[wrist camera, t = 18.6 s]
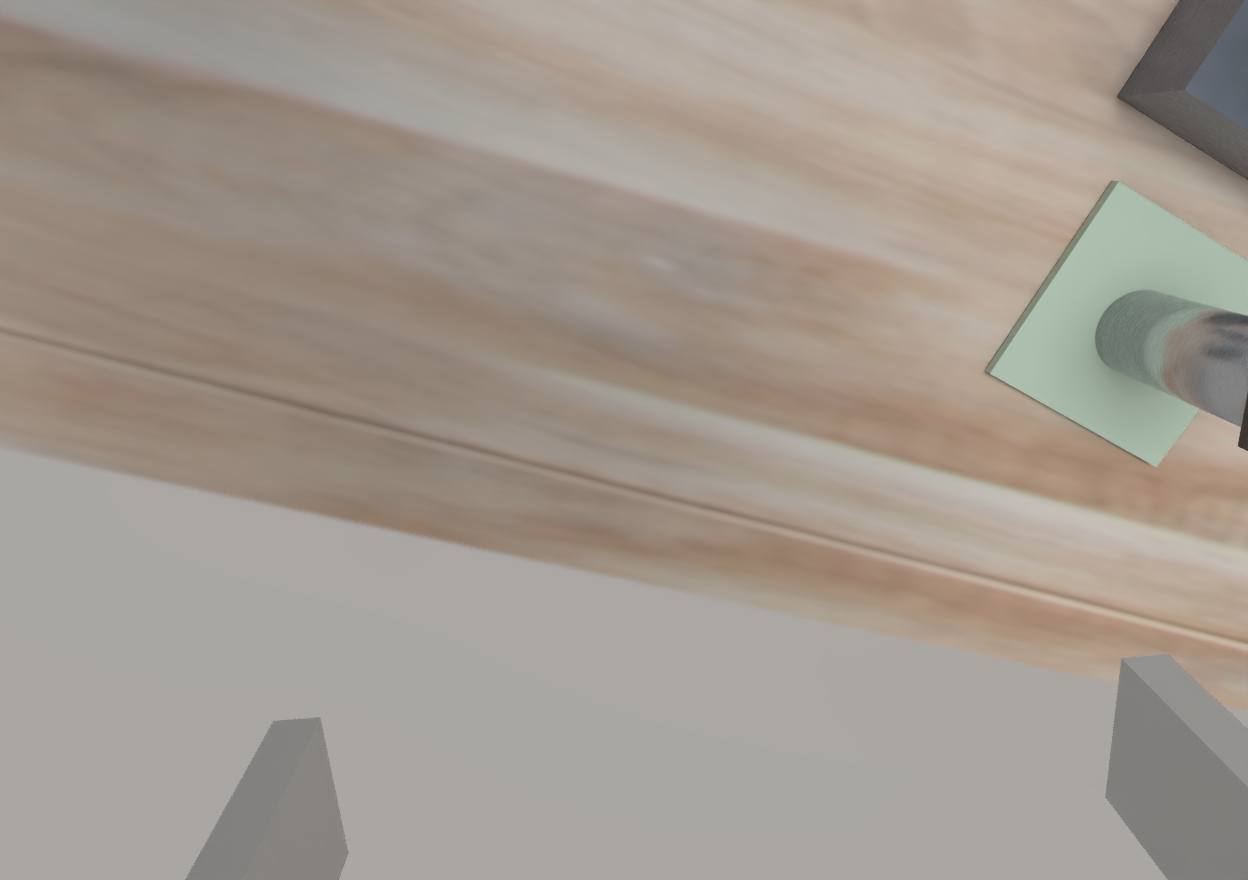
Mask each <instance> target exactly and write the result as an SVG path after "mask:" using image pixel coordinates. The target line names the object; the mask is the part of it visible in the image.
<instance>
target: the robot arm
mask: <svg viewBox="0 0 1248 880" xmlns="http://www.w3.org/2000/svg"><path fill="white" fill-rule="evenodd" d="M1106 798H1107V800H1108V801H1109V802H1110V804H1111V805H1112V806H1113V808H1114V809H1115V810H1116V811H1117V813H1118V814H1119V815H1120V817H1121V818H1122V820H1123V821H1124V822H1125V824H1126V825H1127V826H1128V828H1129V829H1130V830H1131V831H1132V833H1133V834H1134V835H1135V837H1136V838H1137V839H1138V841H1139V842H1140V844H1141V845H1142V846H1143V848H1144V849H1145V850H1146V851H1147V853H1148V854H1149V855H1150V856H1151V858H1152V859H1153V861H1154V862H1155V863H1156V865H1157V866H1158V867H1159V869H1160V870H1161V871H1162V873H1163V874H1164V875H1165V877H1166V878H1167V879H1168V880H1248V728H1247V727H1246V726H1244V725H1243V724H1242V723H1241V722H1240V721H1239V720H1238V719H1237V718H1236V717H1235V716H1234V715H1233V714H1232V713H1230V712H1229V711H1228V710H1227V709H1226V708H1225V707H1224V706H1223V705H1222V704H1221V703H1220V702H1219V701H1218V700H1217V699H1215V698H1214V697H1213V696H1212V695H1211V694H1210V693H1209V692H1208V691H1207V690H1206V689H1205V688H1204V687H1203V686H1201V685H1200V684H1199V683H1198V682H1197V681H1196V680H1195V679H1194V678H1193V677H1192V676H1191V675H1190V674H1189V673H1187V672H1186V671H1185V670H1184V669H1183V668H1182V667H1181V666H1180V665H1179V664H1178V663H1177V662H1176V661H1175V660H1174V659H1172V658H1171V657H1170V656H1169V655H1157V656H1144V657H1130V658H1121V667H1120V675H1119V684H1118V693H1117V701H1116V711H1115V719H1114V727H1113V737H1112V745H1111V753H1110V762H1109V771H1108V779H1107V788H1106ZM347 855H348V849H347V844H346V840H345V835H344V830H343V825H342V821H341V815H340V811H339V806H338V801H337V796H336V791H335V786H334V782H333V777H332V772H331V767H330V763H329V758H328V753H327V748H326V743H325V738H324V733H323V729H322V724H321V719H320V718H308V719H294V720H282V721H273V723H272V725H271V727H270V728H269V730H268V732H267V734H266V736H265V738H264V739H263V741H262V743H261V745H260V747H259V748H258V750H257V752H256V754H255V755H254V757H253V759H252V761H251V763H250V764H249V766H248V768H247V770H246V772H245V773H244V775H243V777H242V779H241V781H240V782H239V784H238V786H237V788H236V790H235V791H234V793H233V795H232V797H231V799H230V800H229V802H228V804H227V806H226V808H225V810H224V811H223V813H222V815H221V817H220V818H219V820H218V822H217V824H216V826H215V827H214V829H213V831H212V833H211V835H210V837H209V838H208V840H207V842H206V843H205V846H204V847H203V849H202V851H201V853H200V854H199V856H198V858H197V860H196V862H195V863H194V865H193V867H192V869H191V871H190V872H189V874H188V876H187V878H186V879H185V880H339V878H340V875H341V872H342V869H343V866H344V864H345V861H346V858H347Z"/></svg>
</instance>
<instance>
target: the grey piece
mask: <svg viewBox="0 0 1248 880" xmlns="http://www.w3.org/2000/svg"><path fill="white" fill-rule="evenodd" d="M1095 345H1096V349H1097V352H1098V355H1099V356H1100V358H1101V360H1102V361H1103V362H1104V363H1105V364H1106V365H1107V366H1108V367H1109V368H1111V369H1113V370H1115V371H1117V372H1119V373H1121V374H1123V375H1126V376H1128V377H1130V378H1132V379H1135V380H1137V381H1139V382H1141V383H1144V384H1146V385H1148V386H1150V387H1153V388H1155V389H1157V390H1159V391H1161V392H1164V393H1166V394H1168V395H1170V396H1173V397H1175V398H1177V399H1179V400H1182V401H1184V402H1186V403H1188V404H1190V405H1193V406H1195V407H1197V408H1199V409H1202V410H1204V411H1206V412H1208V413H1211V414H1213V415H1215V416H1217V417H1220V418H1222V419H1224V420H1226V421H1228V422H1231V423H1233V424H1235V425H1237V426H1240V427H1241V431H1240V437H1239V442H1238V447H1241V448H1243V449H1245V450H1247V451H1248V316H1247V315H1243V314H1240V313H1236V312H1232V311H1228V310H1225V309H1221V308H1217V307H1213V306H1210V305H1206V304H1202V303H1198V302H1194V301H1191V300H1187V299H1183V298H1179V297H1176V296H1172V295H1168V294H1164V293H1161V292H1157V291H1152V290H1138V291H1133V292H1130V293H1127V294H1125V295H1123V296H1121V297H1120V298H1118V299H1117V300H1115V301H1114V302H1113V303H1112V304H1111V305H1110V306H1109V307H1108V308H1107V309H1106V310H1105V312H1104V313H1103V315H1102V316H1101V318H1100V320H1099V322H1098V325H1097V328H1096V333H1095Z"/></svg>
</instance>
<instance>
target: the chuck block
mask: <svg viewBox="0 0 1248 880" xmlns="http://www.w3.org/2000/svg"><path fill="white" fill-rule="evenodd" d="M1117 97H1119V98H1120V99H1122V100H1123V101H1125V102H1126V103H1128V104H1130V105H1131V106H1133V107H1134V108H1136V109H1137V110H1139V111H1141V112H1142V113H1144V114H1145V115H1147V116H1148V117H1150V118H1152V119H1153V120H1155V121H1156V122H1158V123H1159V124H1161V125H1163V126H1164V127H1166V128H1167V129H1169V130H1170V131H1172V132H1174V133H1175V134H1177V135H1178V136H1180V137H1181V138H1183V139H1185V140H1186V141H1188V142H1189V143H1191V144H1192V145H1194V146H1196V147H1197V148H1199V149H1200V150H1202V151H1203V152H1205V153H1207V154H1208V155H1210V156H1211V157H1213V158H1214V159H1216V160H1218V161H1219V162H1221V163H1222V164H1224V165H1225V166H1227V167H1229V168H1230V169H1232V170H1233V171H1235V172H1236V173H1238V174H1240V175H1241V176H1243V177H1244V178H1246V179H1247V180H1248V0H1180V2H1179V3H1178V5H1177V6H1176V8H1175V9H1174V11H1173V12H1172V14H1171V15H1170V17H1169V18H1168V20H1167V21H1166V23H1165V24H1164V26H1163V28H1162V29H1161V31H1160V32H1159V34H1158V35H1157V37H1156V38H1155V40H1154V41H1153V43H1152V44H1151V46H1150V47H1149V49H1148V50H1147V52H1146V54H1145V55H1144V57H1143V58H1142V60H1141V61H1140V63H1139V64H1138V66H1137V67H1136V69H1135V70H1134V72H1133V73H1132V75H1131V76H1130V78H1129V79H1128V81H1127V83H1126V84H1125V86H1124V87H1123V89H1122V90H1121V92H1120V93H1119V95H1118V96H1117Z"/></svg>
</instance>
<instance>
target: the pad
mask: <svg viewBox="0 0 1248 880" xmlns="http://www.w3.org/2000/svg"><path fill="white" fill-rule="evenodd" d="M1138 290H1152V291H1157V292H1161V293H1164V294H1168V295H1172V296H1176V297H1179V298H1183V299H1187V300H1191V301H1194V302H1198V303H1202V304H1206V305H1210V306H1213V307H1217V308H1221V309H1225V310H1228V311H1232V312H1236V313H1240V314H1243V315H1247V316H1248V261H1247V260H1245V259H1243V258H1242V257H1240V256H1238V255H1237V254H1235V253H1234V252H1232V251H1230V250H1229V249H1227V248H1226V247H1224V246H1222V245H1221V244H1219V243H1217V242H1216V241H1214V240H1213V239H1211V238H1209V237H1208V236H1206V235H1205V234H1203V233H1201V232H1200V231H1198V230H1196V229H1195V228H1193V227H1192V226H1190V225H1188V224H1187V223H1185V222H1184V221H1182V220H1180V219H1179V218H1177V217H1175V216H1174V215H1172V214H1171V213H1169V212H1167V211H1166V210H1164V209H1163V208H1161V207H1159V206H1158V205H1156V204H1154V203H1153V202H1151V201H1150V200H1148V199H1146V198H1145V197H1143V196H1142V195H1140V194H1138V193H1137V192H1135V191H1133V190H1132V189H1130V188H1129V187H1127V186H1125V185H1124V184H1122V183H1121V182H1119V181H1112V182H1111V183H1110V185H1109V186H1108V188H1107V189H1106V191H1105V192H1104V194H1103V195H1102V196H1101V198H1100V199H1099V201H1098V202H1097V204H1096V205H1095V207H1094V208H1093V210H1092V211H1091V213H1090V214H1089V216H1088V217H1087V219H1086V220H1085V222H1084V223H1083V225H1082V226H1081V228H1080V229H1079V231H1078V232H1077V234H1076V235H1075V237H1074V238H1073V240H1072V241H1071V243H1070V244H1069V246H1068V247H1067V249H1066V250H1065V252H1064V253H1063V255H1062V256H1061V258H1060V259H1059V261H1058V262H1057V264H1056V265H1055V267H1054V268H1053V270H1052V271H1051V273H1050V274H1049V276H1048V277H1047V279H1046V280H1045V282H1044V283H1043V285H1042V286H1041V288H1040V289H1039V291H1038V292H1037V294H1036V295H1035V297H1034V298H1033V300H1032V301H1031V303H1030V304H1029V306H1028V307H1027V309H1026V310H1025V312H1024V313H1023V315H1022V316H1021V318H1020V319H1019V320H1018V322H1017V323H1016V325H1015V326H1014V328H1013V329H1012V331H1011V332H1010V334H1009V335H1008V337H1007V338H1006V340H1005V341H1004V343H1003V344H1002V346H1001V347H1000V349H999V350H998V352H997V353H996V355H995V356H994V358H993V359H992V361H991V362H990V364H989V365H988V367H987V368H986V370H985V371H986V372H988V373H989V374H991V375H993V376H995V377H997V378H998V379H1000V380H1002V381H1004V382H1005V383H1007V384H1009V385H1011V386H1013V387H1014V388H1016V389H1018V390H1020V391H1021V392H1023V393H1025V394H1027V395H1029V396H1030V397H1032V398H1034V399H1036V400H1037V401H1039V402H1041V403H1043V404H1045V405H1046V406H1048V407H1050V408H1052V409H1053V410H1055V411H1057V412H1059V413H1061V414H1062V415H1064V416H1066V417H1068V418H1069V419H1071V420H1073V421H1075V422H1076V423H1078V424H1080V425H1082V426H1084V427H1085V428H1087V429H1089V430H1091V431H1092V432H1094V433H1096V434H1098V435H1100V436H1101V437H1103V438H1105V439H1107V440H1108V441H1110V442H1112V443H1114V444H1116V445H1117V446H1119V447H1121V448H1123V449H1124V450H1126V451H1128V452H1130V453H1132V454H1133V455H1135V456H1137V457H1139V458H1140V459H1142V460H1144V461H1146V462H1148V463H1149V464H1151V465H1153V466H1155V467H1157V465H1158V464H1159V463H1160V461H1161V460H1162V459H1163V457H1164V456H1165V455H1166V453H1167V452H1168V451H1169V449H1170V448H1171V447H1172V445H1173V444H1174V443H1175V441H1176V440H1177V439H1178V437H1179V436H1180V435H1181V433H1182V432H1183V431H1184V429H1185V428H1186V427H1187V425H1188V424H1189V423H1190V421H1191V420H1192V419H1193V417H1194V416H1195V415H1196V413H1197V412H1198V411H1199V408H1197V407H1195V406H1193V405H1190V404H1188V403H1186V402H1184V401H1182V400H1179V399H1177V398H1175V397H1173V396H1170V395H1168V394H1166V393H1164V392H1161V391H1159V390H1157V389H1155V388H1153V387H1150V386H1148V385H1146V384H1144V383H1141V382H1139V381H1137V380H1135V379H1132V378H1130V377H1128V376H1126V375H1123V374H1121V373H1119V372H1117V371H1115V370H1113V369H1111V368H1109V367H1108V366H1107V365H1106V364H1105V363H1104V362H1103V361H1102V360H1101V358H1100V356H1099V355H1098V352H1097V349H1096V345H1095V333H1096V328H1097V325H1098V322H1099V320H1100V318H1101V316H1102V315H1103V313H1104V312H1105V310H1106V309H1107V308H1108V307H1109V306H1110V305H1111V304H1112V303H1113V302H1114V301H1115V300H1117V299H1118V298H1120V297H1121V296H1123V295H1125V294H1127V293H1130V292H1133V291H1138Z"/></svg>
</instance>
